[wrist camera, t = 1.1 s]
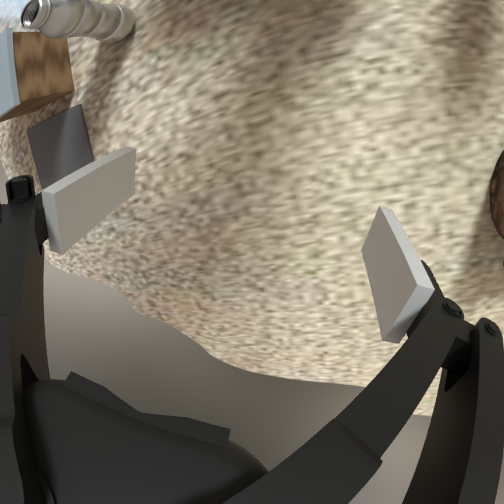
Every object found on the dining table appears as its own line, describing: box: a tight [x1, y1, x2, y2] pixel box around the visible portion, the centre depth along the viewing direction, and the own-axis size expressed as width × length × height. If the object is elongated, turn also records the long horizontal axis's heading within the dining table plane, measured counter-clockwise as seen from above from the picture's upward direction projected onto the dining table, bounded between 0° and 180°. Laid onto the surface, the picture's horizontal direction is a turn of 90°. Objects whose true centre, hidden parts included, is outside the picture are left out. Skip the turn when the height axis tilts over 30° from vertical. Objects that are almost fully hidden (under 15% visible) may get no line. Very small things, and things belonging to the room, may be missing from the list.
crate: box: [0, 32, 74, 122], centre depth 32 cm, size 12×12×14 cm
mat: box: [27, 104, 94, 190], centre depth 46 cm, size 16×16×1 cm
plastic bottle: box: [20, 0, 135, 43], centre depth 25 cm, size 6×7×20 cm
